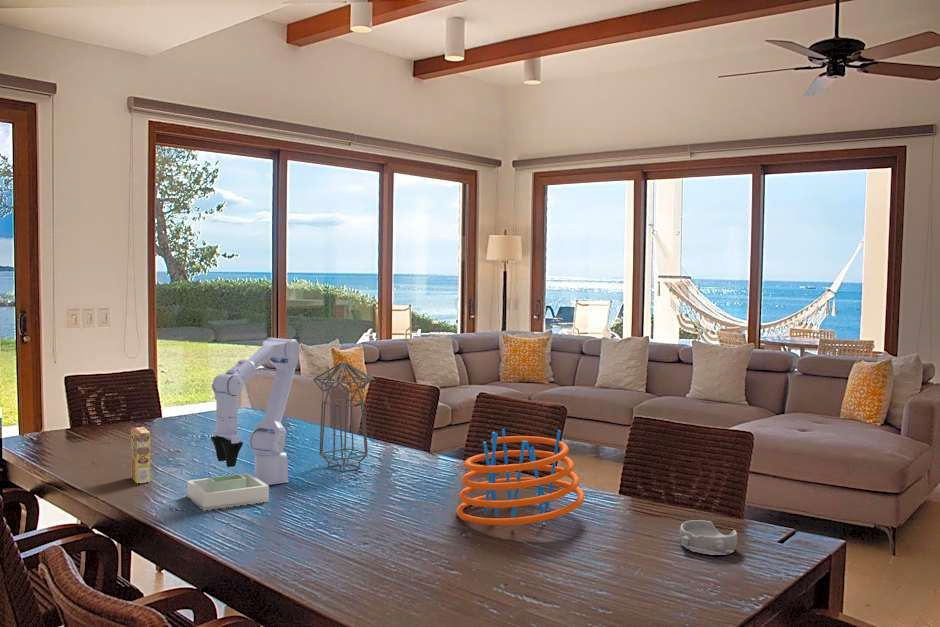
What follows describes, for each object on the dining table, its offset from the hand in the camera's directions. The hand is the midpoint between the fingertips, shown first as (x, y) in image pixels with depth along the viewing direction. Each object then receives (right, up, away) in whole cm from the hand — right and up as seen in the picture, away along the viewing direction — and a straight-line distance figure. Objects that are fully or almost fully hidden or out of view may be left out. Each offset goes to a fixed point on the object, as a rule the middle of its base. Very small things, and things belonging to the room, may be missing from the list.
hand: (226, 463), depth 231 cm
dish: (+127, -15, -31) cm, 132 cm away
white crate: (+1, -10, -2) cm, 10 cm away
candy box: (-30, -8, +15) cm, 35 cm away
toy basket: (+82, -13, -11) cm, 84 cm away
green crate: (+1, -9, -3) cm, 9 cm away
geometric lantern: (+27, -8, +37) cm, 47 cm away
